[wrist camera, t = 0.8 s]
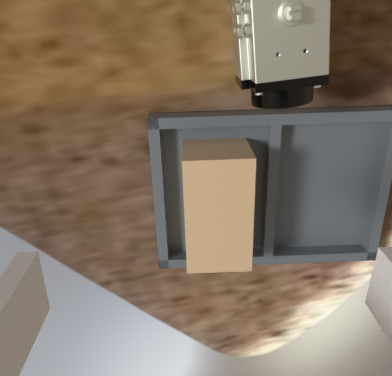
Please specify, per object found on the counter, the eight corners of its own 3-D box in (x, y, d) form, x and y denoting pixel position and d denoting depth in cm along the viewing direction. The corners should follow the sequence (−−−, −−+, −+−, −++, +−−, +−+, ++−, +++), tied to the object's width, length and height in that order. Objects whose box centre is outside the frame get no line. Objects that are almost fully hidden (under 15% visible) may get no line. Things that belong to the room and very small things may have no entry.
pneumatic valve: (283, -70, 30) (341, -123, 19) (287, 81, 34) (335, 110, 23) (214, -60, 30) (230, -108, 19) (227, 89, 35) (246, 121, 24)
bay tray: (149, 113, 35) (141, 132, 29) (393, 104, 36) (435, 122, 29) (160, 256, 42) (156, 296, 36) (366, 248, 42) (397, 287, 36)
